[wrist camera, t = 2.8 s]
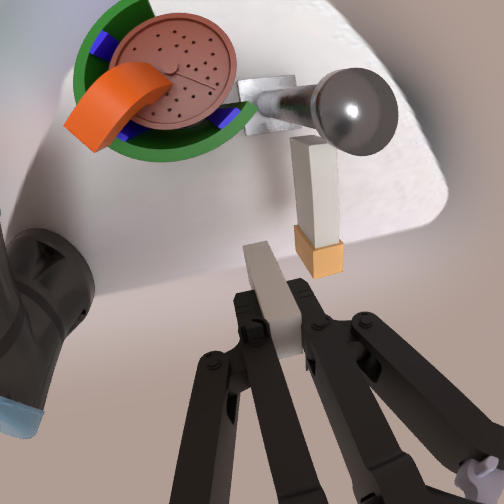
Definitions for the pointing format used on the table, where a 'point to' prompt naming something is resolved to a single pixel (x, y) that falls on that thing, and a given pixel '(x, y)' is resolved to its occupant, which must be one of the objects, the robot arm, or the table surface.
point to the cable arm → (317, 205)
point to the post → (326, 108)
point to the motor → (155, 85)
